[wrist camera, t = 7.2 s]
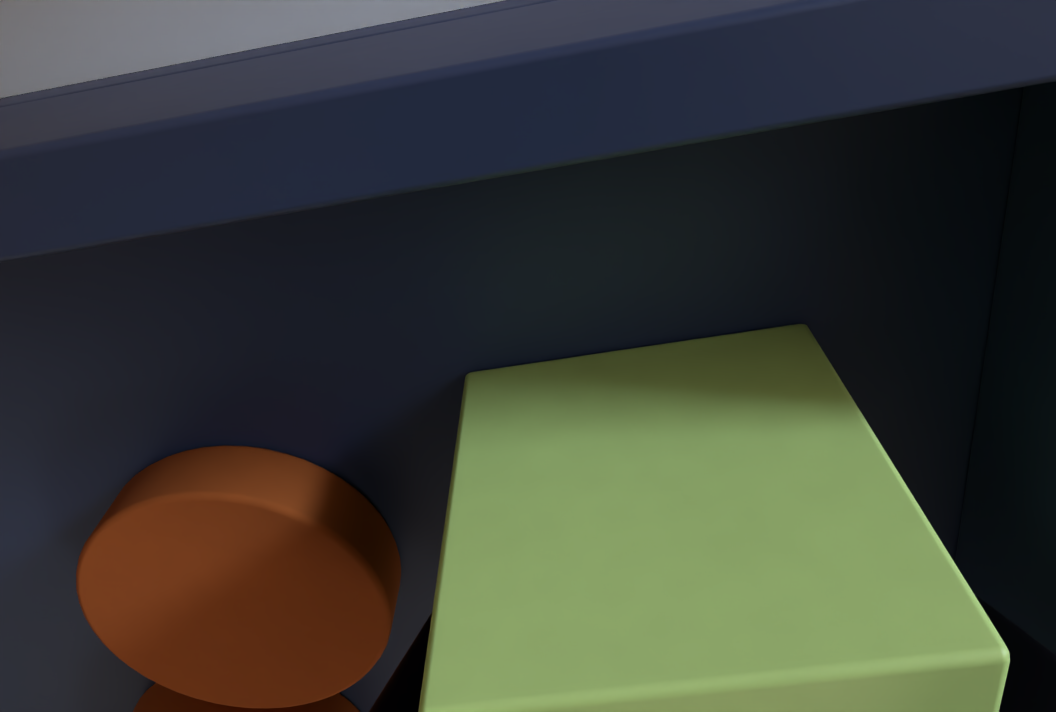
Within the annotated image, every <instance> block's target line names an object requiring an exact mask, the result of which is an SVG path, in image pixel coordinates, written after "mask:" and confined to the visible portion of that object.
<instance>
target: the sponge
mask: <svg viewBox="0 0 1056 712" xmlns="http://www.w3.org/2000/svg"><path fill="white" fill-rule="evenodd" d="M1009 664H1010V654H1009V651H1008V648H1007V646H1006V645H1005V643H1004V642H1003V640H1002V638H1001V637H1000V635H999V633H998V632H997V630H996V629H995V627H994V625H993V624H992V622H991V621H990V619H989V617H988V616H987V614H986V613H985V611H984V609H983V608H982V606H981V605H980V603H979V601H978V600H977V598H976V596H975V595H974V593H973V592H972V590H971V588H970V587H969V585H968V584H967V582H966V580H965V579H964V577H963V576H962V574H961V572H960V571H959V569H958V568H957V566H956V564H955V563H954V561H953V560H952V558H951V556H950V555H949V553H948V551H947V550H946V548H945V547H944V545H943V543H942V542H941V540H940V539H939V537H938V535H937V534H936V532H935V531H934V529H933V527H932V526H931V524H930V523H929V521H928V519H927V518H926V516H925V514H924V513H923V511H922V510H921V508H920V506H919V505H918V503H917V502H916V500H915V498H914V497H913V495H912V494H911V492H910V490H909V489H908V487H907V486H906V484H905V482H904V481H903V479H902V477H901V476H900V474H899V473H898V471H897V469H896V468H895V466H894V465H893V463H892V461H891V460H890V458H889V457H888V455H887V453H886V452H885V450H884V449H883V447H882V445H881V444H880V442H879V440H878V439H877V437H876V436H875V434H874V432H873V431H872V429H871V428H870V426H869V424H868V423H867V421H866V420H865V418H864V416H863V415H862V413H861V412H860V410H859V408H858V407H857V405H856V404H855V402H854V400H853V399H852V397H851V395H850V394H849V392H848V391H847V389H846V387H845V386H844V384H843V383H842V381H841V379H840V378H839V376H838V375H837V373H836V371H835V370H834V368H833V367H832V365H831V363H830V362H829V360H828V358H827V357H826V355H825V354H824V352H823V350H822V349H821V347H820V346H819V344H818V342H817V341H816V339H815V338H814V336H813V334H812V333H811V331H810V330H809V328H808V326H807V325H805V324H794V325H787V326H781V327H774V328H767V329H760V330H753V331H747V332H740V333H733V334H726V335H719V336H713V337H706V338H699V339H692V340H686V341H679V342H672V343H665V344H658V345H652V346H645V347H638V348H631V349H624V350H618V351H611V352H604V353H597V354H591V355H584V356H577V357H570V358H563V359H557V360H550V361H543V362H536V363H529V364H523V365H516V366H509V367H502V368H496V369H489V370H482V371H475V372H470V373H468V374H467V375H466V377H465V382H464V389H463V396H462V403H461V411H460V418H459V425H458V432H457V439H456V446H455V453H454V460H453V468H452V475H451V482H450V489H449V496H448V503H447V510H446V517H445V525H444V532H443V539H442V546H441V553H440V560H439V567H438V575H437V582H436V589H435V596H434V603H433V610H432V617H431V624H430V632H429V639H428V646H427V653H426V660H425V667H424V674H423V681H422V689H421V696H420V703H419V710H418V712H999V709H1000V704H1001V700H1002V695H1003V691H1004V686H1005V682H1006V677H1007V673H1008V668H1009Z"/></svg>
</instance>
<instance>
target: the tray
mask: <svg viewBox="0 0 1056 712" xmlns="http://www.w3.org/2000/svg"><path fill="white" fill-rule="evenodd" d="M794 324H805V325H807V326H808V328H809V330H810V331H811V333H812V334H813V336H814V338H815V339H816V341H817V342H818V344H819V346H820V347H821V349H822V350H823V352H824V354H825V355H826V357H827V358H828V360H829V362H830V363H831V365H832V367H833V368H834V370H835V371H836V373H837V375H838V376H839V378H840V379H841V381H842V383H843V384H844V386H845V387H846V389H847V391H848V392H849V394H850V395H851V397H852V399H853V400H854V402H855V404H856V405H857V407H858V408H859V410H860V412H861V413H862V415H863V416H864V418H865V420H866V421H867V423H868V424H869V426H870V428H871V429H872V431H873V432H874V434H875V436H876V437H877V439H878V440H879V442H880V444H881V445H882V447H883V449H884V450H885V452H886V453H887V455H888V457H889V458H890V460H891V461H892V463H893V465H894V466H895V468H896V469H897V471H898V473H899V474H900V476H901V477H902V479H903V481H904V482H905V484H906V486H907V487H908V489H909V490H910V492H911V494H912V495H913V497H914V498H915V500H916V502H917V503H918V505H919V506H920V508H921V510H922V511H923V513H924V514H925V516H926V518H927V519H928V521H929V523H930V524H931V526H932V527H933V529H934V531H935V532H936V534H937V535H938V537H939V539H940V540H941V542H942V543H943V545H944V547H945V548H946V550H947V551H948V553H949V555H950V556H951V558H952V560H953V561H954V563H955V564H956V566H957V568H958V569H959V571H960V572H961V574H962V576H963V577H964V579H965V580H966V582H967V584H968V585H969V587H970V588H971V590H972V592H973V593H974V594H976V595H977V596H978V597H980V598H981V599H982V600H984V601H985V602H986V603H988V604H989V605H990V606H992V607H993V608H994V609H996V610H997V611H998V612H1000V613H1001V614H1002V615H1004V616H1005V617H1006V618H1008V619H1009V620H1010V621H1012V622H1013V623H1014V624H1016V625H1017V626H1018V627H1020V628H1021V629H1022V630H1024V631H1025V632H1026V633H1028V634H1029V635H1030V636H1032V637H1033V638H1034V639H1036V640H1037V641H1038V642H1040V643H1041V644H1042V645H1044V646H1045V647H1046V648H1048V649H1049V650H1050V651H1052V652H1053V653H1055V654H1056V0H506V1H500V2H495V3H490V4H485V5H480V6H475V7H469V8H464V9H459V10H454V11H449V12H444V13H439V14H433V15H428V16H423V17H418V18H413V19H408V20H402V21H397V22H392V23H387V24H382V25H377V26H371V27H366V28H361V29H356V30H351V31H346V32H340V33H335V34H330V35H325V36H320V37H315V38H310V39H304V40H299V41H294V42H289V43H284V44H279V45H273V46H268V47H263V48H258V49H253V50H248V51H242V52H237V53H232V54H227V55H222V56H217V57H211V58H206V59H201V60H196V61H191V62H186V63H181V64H175V65H170V66H165V67H160V68H155V69H150V70H144V71H139V72H134V73H129V74H124V75H119V76H113V77H108V78H103V79H98V80H93V81H88V82H83V83H77V84H72V85H67V86H62V87H57V88H52V89H46V90H41V91H36V92H31V93H26V94H21V95H15V96H10V97H5V98H0V712H133V710H134V708H135V706H136V705H137V703H138V701H139V699H140V698H141V697H142V695H143V694H144V693H145V692H146V691H147V690H148V689H149V688H150V687H151V686H153V685H154V684H155V683H156V682H154V681H152V680H150V679H148V678H147V677H145V676H143V675H141V674H140V673H138V672H137V671H135V670H134V669H132V668H131V667H129V666H128V665H127V664H125V663H124V662H123V661H122V660H120V659H119V658H118V657H117V656H115V655H114V654H113V653H112V652H111V651H110V650H109V649H108V648H107V647H106V646H105V645H104V644H103V643H102V641H101V640H100V639H99V638H98V636H97V635H96V634H95V633H94V631H93V630H92V628H91V627H90V625H89V623H88V621H87V620H86V618H85V616H84V614H83V611H82V609H81V606H80V604H79V600H78V595H77V590H76V570H77V565H78V560H79V556H80V553H81V551H82V549H83V546H84V544H85V542H86V541H87V539H88V538H89V536H90V535H91V533H92V532H93V531H94V529H95V528H96V526H97V525H98V523H99V522H100V520H101V519H102V518H103V516H104V515H105V513H106V512H107V510H108V509H109V507H110V506H111V504H112V503H113V502H114V500H115V499H116V497H117V496H118V494H119V493H120V491H121V490H122V489H123V487H124V486H125V485H126V484H127V483H128V482H129V481H130V480H131V479H132V478H133V477H134V476H135V475H136V474H138V473H139V472H141V471H142V470H143V469H145V468H146V467H148V466H149V465H151V464H153V463H155V462H157V461H159V460H161V459H163V458H166V457H168V456H171V455H174V454H177V453H180V452H183V451H186V450H191V449H196V448H201V447H210V446H221V445H229V446H249V447H257V448H265V449H269V450H274V451H278V452H283V453H286V454H289V455H292V456H295V457H298V458H301V459H304V460H307V461H309V462H311V463H314V464H316V465H318V466H320V467H323V468H324V469H326V470H328V471H330V472H331V473H333V474H335V475H337V476H338V477H340V478H342V479H343V480H344V481H346V482H347V483H349V484H350V485H351V486H353V487H354V488H355V489H357V490H358V491H359V492H360V493H361V494H362V495H363V496H364V497H365V498H366V499H368V500H369V501H370V503H371V504H372V505H373V506H374V507H375V508H376V510H377V511H378V512H379V513H380V514H381V516H382V517H383V519H384V521H385V522H386V524H387V525H388V527H389V529H390V531H391V533H392V535H393V538H394V540H395V542H396V545H397V549H398V552H399V556H400V564H401V578H400V587H399V592H398V597H397V602H396V607H395V613H394V618H393V623H392V628H391V633H390V636H389V640H388V643H387V646H386V648H385V650H384V651H383V653H382V655H381V657H380V658H379V660H378V661H377V662H376V663H375V665H374V666H373V667H372V669H371V670H370V671H369V672H368V673H367V674H366V675H365V676H364V677H362V678H361V679H360V680H359V681H358V682H356V683H355V684H353V685H352V686H350V687H349V688H347V689H345V690H343V691H341V692H339V693H340V694H341V695H342V696H344V697H345V698H346V699H348V700H349V701H350V702H351V703H352V704H353V705H354V706H355V707H356V708H357V709H358V710H359V711H360V712H369V711H370V709H371V708H372V706H373V704H374V703H375V701H376V700H377V698H378V696H379V695H380V693H381V692H382V690H383V689H384V687H385V685H386V684H387V682H388V681H389V679H390V677H391V676H392V674H393V673H394V671H395V670H396V668H397V666H398V665H399V663H400V662H401V660H402V659H403V657H404V655H405V654H406V652H407V651H408V649H409V647H410V646H411V644H412V643H413V641H414V640H415V638H416V636H417V635H418V633H419V632H420V630H421V628H422V627H423V625H424V624H425V622H426V621H427V619H428V617H429V616H430V614H431V613H432V610H433V603H434V596H435V589H436V582H437V575H438V567H439V560H440V553H441V546H442V539H443V532H444V525H445V517H446V510H447V503H448V496H449V489H450V482H451V475H452V468H453V460H454V453H455V446H456V439H457V432H458V425H459V418H460V411H461V403H462V396H463V389H464V382H465V377H466V375H467V374H468V373H470V372H475V371H482V370H489V369H496V368H502V367H509V366H516V365H523V364H529V363H536V362H543V361H550V360H557V359H563V358H570V357H577V356H584V355H591V354H597V353H604V352H611V351H618V350H624V349H631V348H638V347H645V346H652V345H658V344H665V343H672V342H679V341H686V340H692V339H699V338H706V337H713V336H719V335H726V334H733V333H740V332H747V331H753V330H760V329H767V328H774V327H781V326H787V325H794Z"/></svg>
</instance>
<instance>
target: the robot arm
mask: <svg viewBox="0 0 1056 712" xmlns="http://www.w3.org/2000/svg"><path fill="white" fill-rule="evenodd" d="M974 595H975V596H976V598H977V600H978V601H979V603H980V605H981V606H982V608H983V609H984V611H985V613H986V614H987V616H988V617H989V619H990V621H991V622H992V624H993V625H994V627H995V629H996V630H997V632H998V633H999V635H1000V637H1001V638H1002V640H1003V642H1004V643H1005V645H1006V646H1007V648H1008V651H1009V654H1010V664H1009V668H1008V673H1007V677H1006V682H1005V686H1004V691H1003V695H1002V700H1001V704H1000V709H999V712H1056V654H1055V653H1053V652H1052V651H1050V650H1049V649H1048V648H1046V647H1045V646H1044V645H1042V644H1041V643H1040V642H1038V641H1037V640H1036V639H1034V638H1033V637H1032V636H1030V635H1029V634H1028V633H1026V632H1025V631H1024V630H1022V629H1021V628H1020V627H1018V626H1017V625H1016V624H1014V623H1013V622H1012V621H1010V620H1009V619H1008V618H1006V617H1005V616H1004V615H1002V614H1001V613H1000V612H998V611H997V610H996V609H994V608H993V607H992V606H990V605H989V604H988V603H986V602H985V601H984V600H982V599H981V598H980V597H978V596H977V595H976V594H974ZM431 617H432V613H431V614H430V616H429V617H428V619H427V621H426V622H425V624H424V625H423V627H422V628H421V630H420V632H419V633H418V635H417V636H416V638H415V640H414V641H413V643H412V644H411V646H410V647H409V649H408V651H407V652H406V654H405V655H404V657H403V659H402V660H401V662H400V663H399V665H398V666H397V668H396V670H395V671H394V673H393V674H392V676H391V677H390V679H389V681H388V682H387V684H386V685H385V687H384V689H383V690H382V692H381V693H380V695H379V696H378V698H377V700H376V701H375V703H374V704H373V706H372V708H371V709H370V711H369V712H418V710H419V703H420V696H421V689H422V681H423V674H424V667H425V660H426V653H427V646H428V639H429V632H430V624H431Z"/></svg>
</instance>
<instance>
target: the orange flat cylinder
mask: <svg viewBox="0 0 1056 712" xmlns="http://www.w3.org/2000/svg"><path fill="white" fill-rule="evenodd" d="M400 578H401V564H400V556H399V552H398V549H397V545H396V542H395V540H394V538H393V535H392V533H391V531H390V529H389V527H388V525H387V524H386V522H385V521H384V519H383V517H382V516H381V514H380V513H379V512H378V511H377V510H376V508H375V507H374V506H373V505H372V504H371V503H370V501H369V500H368V499H366V498H365V497H364V496H363V495H362V494H361V493H360V492H359V491H358V490H357V489H355V488H354V487H353V486H351V485H350V484H349V483H347V482H346V481H344V480H343V479H342V478H340V477H338V476H337V475H335V474H333V473H331V472H330V471H328V470H326V469H324V468H323V467H320V466H318V465H316V464H314V463H311V462H309V461H307V460H304V459H301V458H298V457H295V456H292V455H289V454H286V453H283V452H278V451H274V450H269V449H265V448H257V447H249V446H229V445H221V446H210V447H201V448H196V449H191V450H186V451H183V452H180V453H177V454H174V455H171V456H168V457H166V458H163V459H161V460H159V461H157V462H155V463H153V464H151V465H149V466H148V467H146V468H145V469H143V470H142V471H141V472H139V473H138V474H136V475H135V476H134V477H133V478H132V479H131V480H130V481H129V482H128V483H127V484H126V485H125V486H124V487H123V489H122V490H121V491H120V493H119V494H118V496H117V497H116V499H115V500H114V502H113V503H112V504H111V506H110V507H109V509H108V510H107V512H106V513H105V515H104V516H103V518H102V519H101V520H100V522H99V523H98V525H97V526H96V528H95V529H94V531H93V532H92V533H91V535H90V536H89V538H88V539H87V541H86V542H85V544H84V546H83V549H82V551H81V553H80V556H79V560H78V565H77V570H76V590H77V595H78V600H79V604H80V606H81V609H82V611H83V614H84V616H85V618H86V620H87V621H88V623H89V625H90V627H91V628H92V630H93V631H94V633H95V634H96V635H97V636H98V638H99V639H100V640H101V641H102V643H103V644H104V645H105V646H106V647H107V648H108V649H109V650H110V651H111V652H112V653H113V654H114V655H115V656H117V657H118V658H119V659H120V660H122V661H123V662H124V663H125V664H127V665H128V666H129V667H131V668H132V669H134V670H135V671H137V672H138V673H140V674H141V675H143V676H145V677H147V678H148V679H150V680H152V681H154V682H156V683H158V684H160V685H162V686H164V687H166V688H169V689H171V690H173V691H176V692H178V693H181V694H184V695H187V696H190V697H193V698H196V699H200V700H204V701H208V702H211V703H216V704H222V705H227V706H234V707H244V708H283V707H291V706H298V705H304V704H308V703H312V702H316V701H320V700H322V699H325V698H328V697H330V696H333V695H335V694H337V693H339V692H341V691H343V690H345V689H347V688H349V687H350V686H352V685H353V684H355V683H356V682H358V681H359V680H360V679H361V678H362V677H364V676H365V675H366V674H367V673H368V672H369V671H370V670H371V669H372V667H373V666H374V665H375V663H376V662H377V661H378V660H379V658H380V657H381V655H382V653H383V651H384V650H385V648H386V646H387V643H388V640H389V636H390V633H391V628H392V623H393V618H394V613H395V607H396V602H397V597H398V592H399V587H400Z"/></svg>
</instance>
